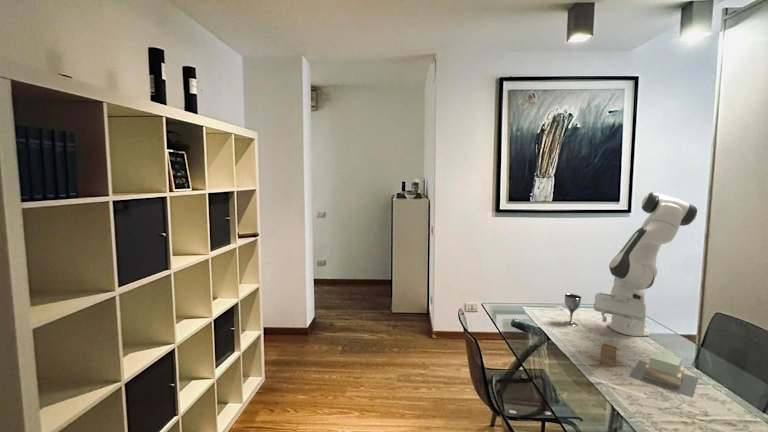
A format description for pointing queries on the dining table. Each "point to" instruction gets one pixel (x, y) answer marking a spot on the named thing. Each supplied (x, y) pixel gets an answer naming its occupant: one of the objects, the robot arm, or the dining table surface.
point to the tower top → (665, 362)
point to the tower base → (664, 376)
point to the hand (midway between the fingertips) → (616, 323)
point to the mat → (685, 387)
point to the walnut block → (608, 355)
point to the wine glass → (572, 306)
